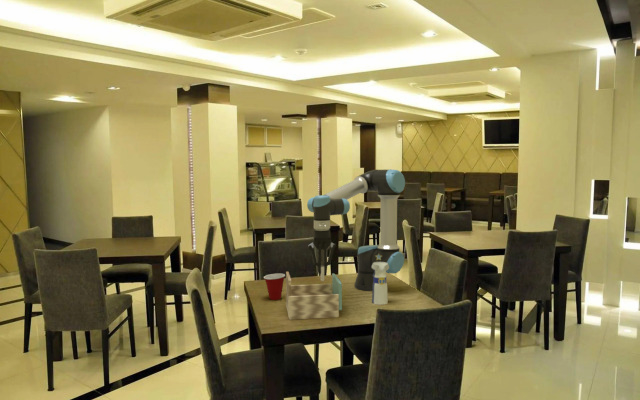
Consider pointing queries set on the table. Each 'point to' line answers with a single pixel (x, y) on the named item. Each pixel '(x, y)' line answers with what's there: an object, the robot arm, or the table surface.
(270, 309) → the table surface
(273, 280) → the plastic cup
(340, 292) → the teal flat panel
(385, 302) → the blue-banded white tube
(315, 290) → the crate
